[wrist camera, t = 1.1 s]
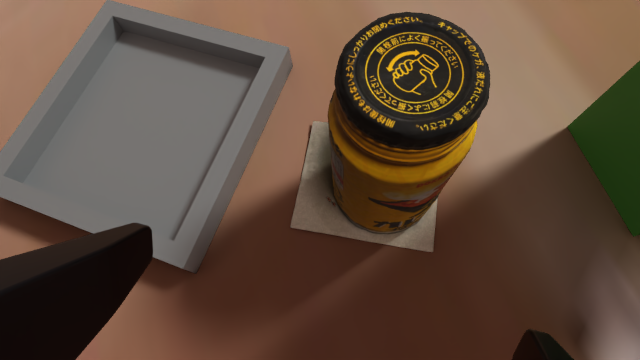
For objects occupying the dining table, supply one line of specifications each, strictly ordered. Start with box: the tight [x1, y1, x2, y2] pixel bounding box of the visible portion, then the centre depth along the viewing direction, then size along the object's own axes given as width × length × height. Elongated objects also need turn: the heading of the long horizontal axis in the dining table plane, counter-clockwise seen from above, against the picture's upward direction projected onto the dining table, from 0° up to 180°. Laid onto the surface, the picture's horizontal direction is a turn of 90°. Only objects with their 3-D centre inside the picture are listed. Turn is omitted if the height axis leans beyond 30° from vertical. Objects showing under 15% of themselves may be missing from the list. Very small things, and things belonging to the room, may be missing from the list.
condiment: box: [290, 12, 490, 252], centre depth 19 cm, size 7×8×12 cm
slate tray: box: [0, 0, 293, 274], centre depth 26 cm, size 15×14×2 cm
